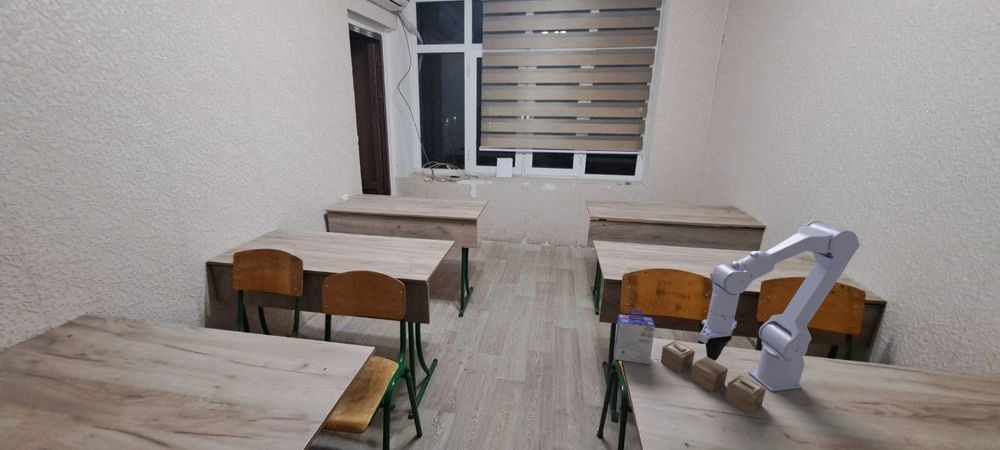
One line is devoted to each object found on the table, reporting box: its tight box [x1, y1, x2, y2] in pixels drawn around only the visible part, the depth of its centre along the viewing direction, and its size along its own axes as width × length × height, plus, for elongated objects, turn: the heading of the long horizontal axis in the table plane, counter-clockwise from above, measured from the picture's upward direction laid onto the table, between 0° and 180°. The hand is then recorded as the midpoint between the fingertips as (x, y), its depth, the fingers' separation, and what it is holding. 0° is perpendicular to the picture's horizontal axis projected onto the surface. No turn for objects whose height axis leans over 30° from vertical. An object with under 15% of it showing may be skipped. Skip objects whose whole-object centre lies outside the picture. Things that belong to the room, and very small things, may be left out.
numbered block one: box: [723, 374, 767, 416], centre depth 94 cm, size 6×6×5 cm
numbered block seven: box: [660, 340, 696, 374], centre depth 108 cm, size 6×6×5 cm
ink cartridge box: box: [613, 308, 656, 365], centre depth 110 cm, size 10×6×14 cm, turn 78°
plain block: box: [689, 356, 729, 393], centre depth 101 cm, size 6×6×5 cm
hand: (712, 358), depth 100 cm, fingers closed
